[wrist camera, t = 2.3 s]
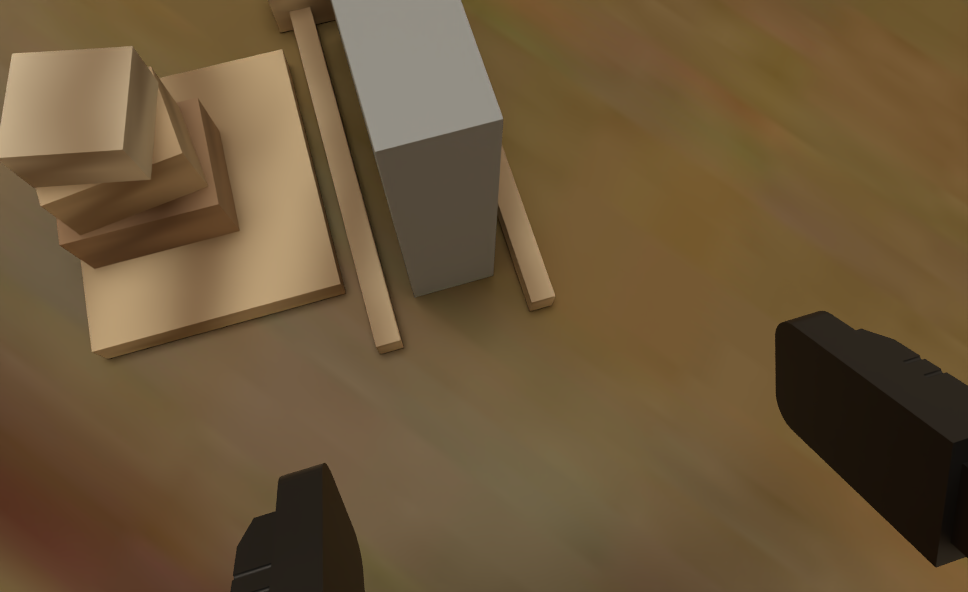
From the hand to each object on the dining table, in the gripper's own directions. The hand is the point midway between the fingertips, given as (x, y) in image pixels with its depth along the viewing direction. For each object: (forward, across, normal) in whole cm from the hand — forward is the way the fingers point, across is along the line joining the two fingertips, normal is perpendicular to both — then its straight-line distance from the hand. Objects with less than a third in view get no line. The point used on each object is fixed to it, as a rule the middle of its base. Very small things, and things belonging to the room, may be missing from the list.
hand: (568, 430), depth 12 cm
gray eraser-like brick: (+22, 0, 0) cm, 22 cm away
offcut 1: (+18, -11, +4) cm, 21 cm away
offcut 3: (+21, -11, +1) cm, 24 cm away
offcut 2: (+20, -11, +3) cm, 23 cm away
